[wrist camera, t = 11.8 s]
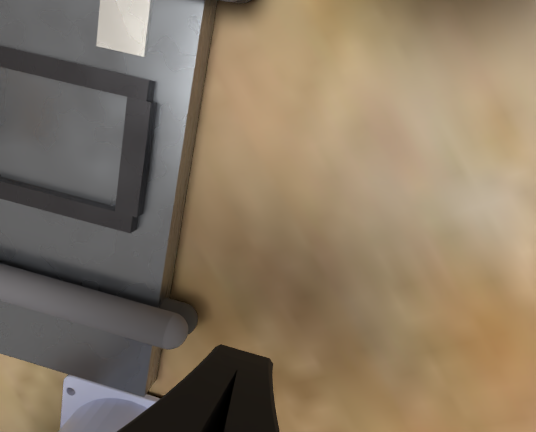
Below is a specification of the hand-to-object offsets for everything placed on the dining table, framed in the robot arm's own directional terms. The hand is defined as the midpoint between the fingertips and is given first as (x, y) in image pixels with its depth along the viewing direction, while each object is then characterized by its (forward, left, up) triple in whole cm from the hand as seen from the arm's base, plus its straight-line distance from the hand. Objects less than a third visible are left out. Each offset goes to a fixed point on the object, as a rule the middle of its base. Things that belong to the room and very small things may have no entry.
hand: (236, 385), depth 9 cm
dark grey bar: (-4, +13, -9) cm, 17 cm away
